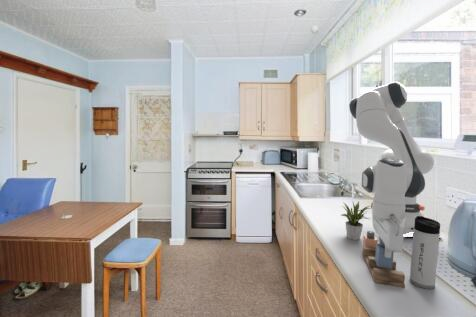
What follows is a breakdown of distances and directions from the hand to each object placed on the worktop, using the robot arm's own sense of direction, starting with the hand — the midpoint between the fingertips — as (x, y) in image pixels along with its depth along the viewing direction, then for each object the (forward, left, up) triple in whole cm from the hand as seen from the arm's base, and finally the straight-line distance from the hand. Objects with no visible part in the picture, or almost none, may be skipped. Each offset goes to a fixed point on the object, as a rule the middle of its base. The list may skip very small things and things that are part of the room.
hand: (384, 252), depth 81 cm
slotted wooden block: (0, -4, -7) cm, 8 cm away
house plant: (+4, -29, -8) cm, 31 cm away
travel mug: (-10, +1, -8) cm, 13 cm away
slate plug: (0, 0, -4) cm, 4 cm away
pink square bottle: (+1, -16, -8) cm, 18 cm away
